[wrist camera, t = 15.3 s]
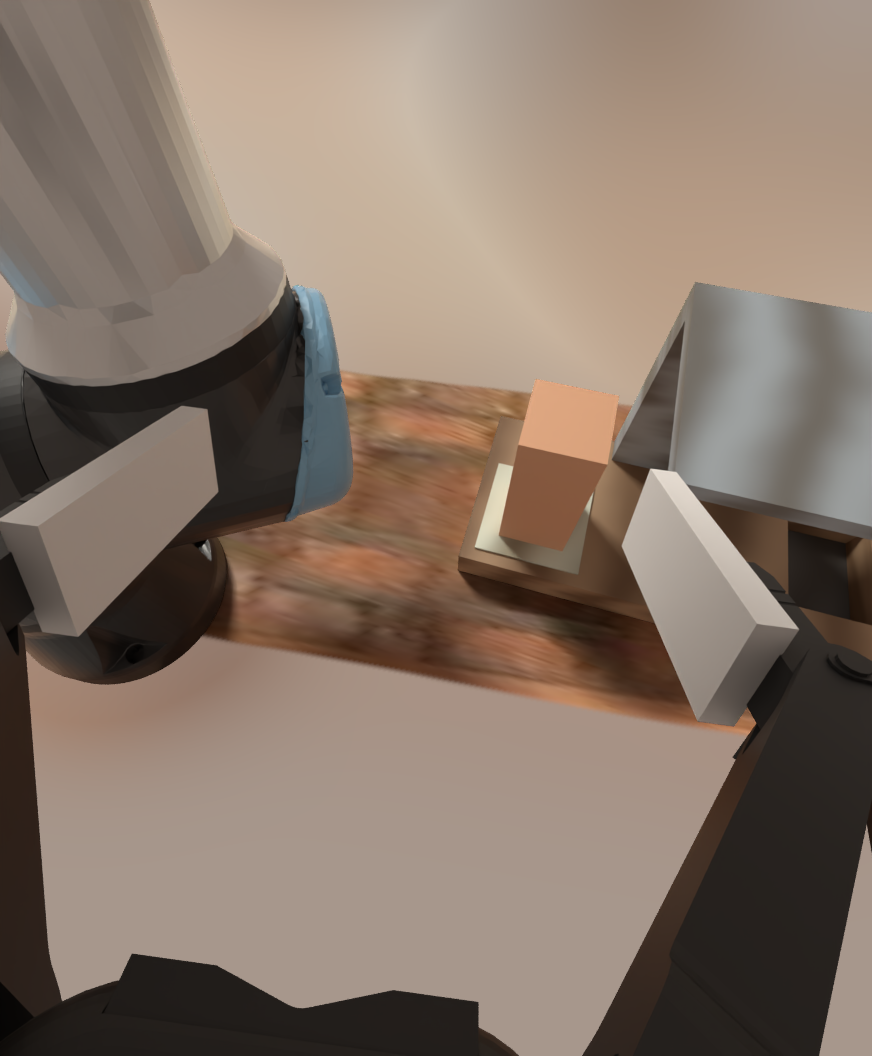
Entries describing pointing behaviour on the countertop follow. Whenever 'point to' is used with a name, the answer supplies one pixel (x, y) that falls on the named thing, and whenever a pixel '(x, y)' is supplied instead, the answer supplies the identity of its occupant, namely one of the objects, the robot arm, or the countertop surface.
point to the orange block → (557, 462)
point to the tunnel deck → (726, 462)
